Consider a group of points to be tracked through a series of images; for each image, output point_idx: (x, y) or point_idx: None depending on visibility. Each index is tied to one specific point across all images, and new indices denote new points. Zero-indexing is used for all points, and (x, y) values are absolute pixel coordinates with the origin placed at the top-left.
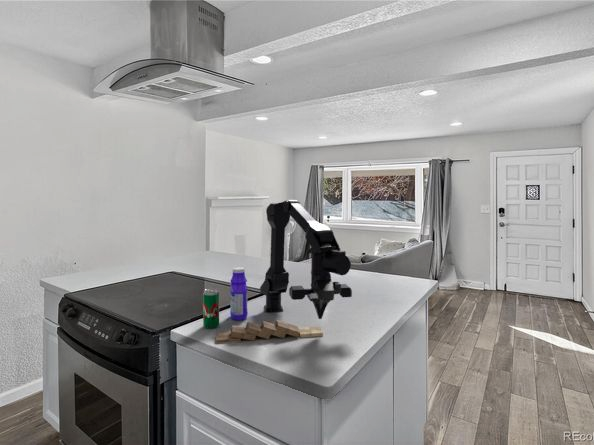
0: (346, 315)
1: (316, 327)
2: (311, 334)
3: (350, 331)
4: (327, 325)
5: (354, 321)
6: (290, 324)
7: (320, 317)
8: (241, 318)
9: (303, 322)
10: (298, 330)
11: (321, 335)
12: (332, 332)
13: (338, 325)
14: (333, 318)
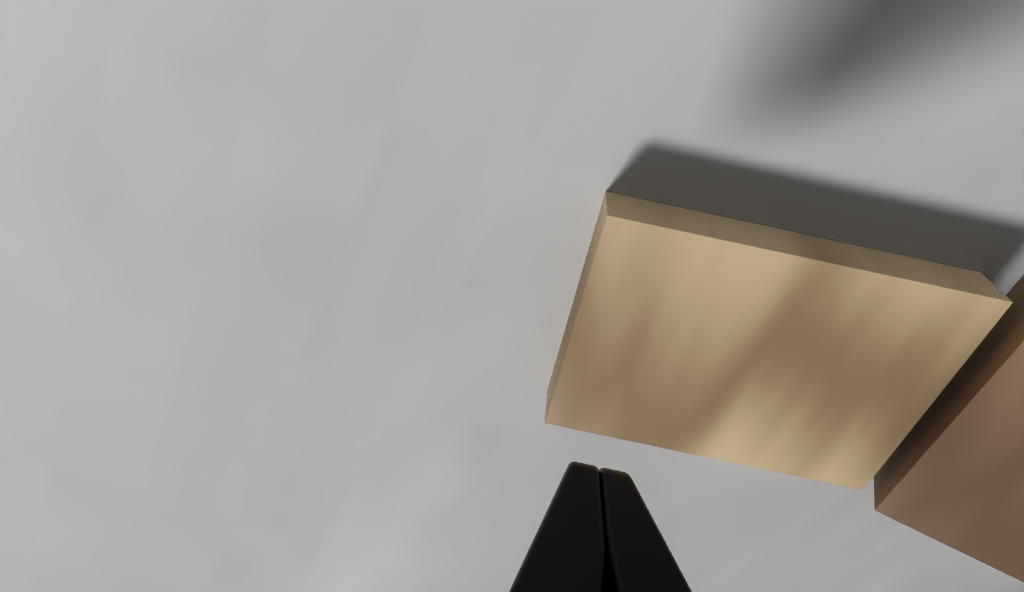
0: (97, 554)
1: (597, 409)
2: (810, 248)
3: (113, 180)
4: (382, 446)
5: (21, 421)
6: (1010, 562)
7: (601, 491)
8: None
9: None
10: (1003, 390)
11: (628, 201)
12: (400, 248)
13: (244, 401)
14: (253, 549)
